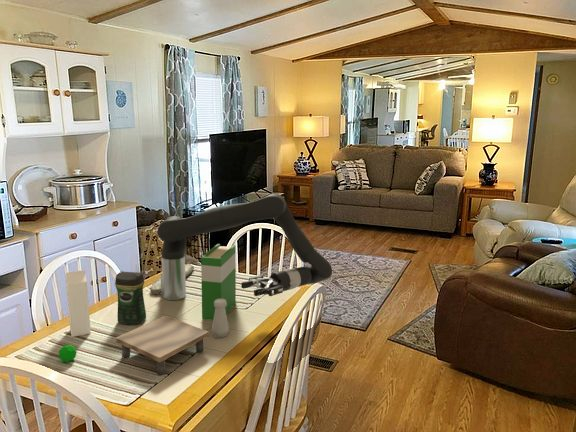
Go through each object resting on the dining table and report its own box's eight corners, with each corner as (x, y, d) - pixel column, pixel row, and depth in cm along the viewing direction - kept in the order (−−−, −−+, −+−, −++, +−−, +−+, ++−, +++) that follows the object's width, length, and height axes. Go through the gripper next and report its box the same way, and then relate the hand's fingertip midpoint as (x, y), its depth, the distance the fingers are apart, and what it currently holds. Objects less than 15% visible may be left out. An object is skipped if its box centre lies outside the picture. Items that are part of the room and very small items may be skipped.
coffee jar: (149, 317, 174) (147, 269, 170) (140, 326, 167) (137, 277, 162) (124, 315, 175) (121, 268, 171) (114, 324, 168) (111, 275, 164)
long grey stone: (199, 272, 227) (180, 271, 229) (198, 261, 226) (179, 261, 228) (166, 296, 193) (144, 295, 195) (165, 283, 192) (143, 282, 194)
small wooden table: (116, 356, 146) (115, 337, 145) (166, 332, 163) (165, 315, 161) (160, 378, 136) (159, 357, 134) (208, 350, 152) (208, 331, 150)
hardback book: (218, 300, 191) (217, 243, 186) (235, 302, 190) (235, 245, 184) (202, 318, 174) (201, 257, 169) (221, 321, 173) (220, 258, 167)
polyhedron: (68, 354, 147) (67, 340, 146) (80, 358, 145) (79, 344, 144) (55, 362, 142) (54, 348, 141) (67, 366, 141) (66, 351, 140)
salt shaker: (225, 340, 159) (225, 304, 156) (209, 338, 160) (209, 302, 157) (231, 332, 164) (231, 297, 161) (215, 330, 165) (215, 295, 162)
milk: (90, 333, 161) (86, 272, 156) (71, 337, 158) (66, 275, 153) (88, 326, 166) (84, 267, 161) (69, 329, 163) (64, 269, 158)
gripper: (274, 265, 179) (237, 273, 170) (297, 276, 168) (258, 285, 159) (274, 284, 181) (237, 293, 171) (296, 295, 170) (258, 306, 160)
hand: (248, 289), depth 165 cm, fingers open, 8 cm apart
